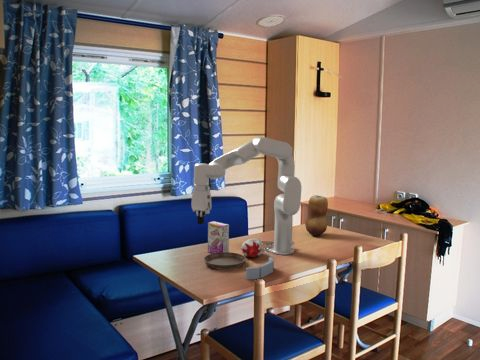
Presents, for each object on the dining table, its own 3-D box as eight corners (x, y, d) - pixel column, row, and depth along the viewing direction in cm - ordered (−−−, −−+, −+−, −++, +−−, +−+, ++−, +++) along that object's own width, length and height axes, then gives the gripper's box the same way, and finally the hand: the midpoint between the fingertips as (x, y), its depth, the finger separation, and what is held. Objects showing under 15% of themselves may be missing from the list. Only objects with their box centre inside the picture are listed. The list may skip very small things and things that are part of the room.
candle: (259, 250, 235) (265, 263, 220) (238, 251, 233) (243, 263, 218) (260, 235, 232) (266, 246, 218) (239, 235, 230) (244, 247, 216)
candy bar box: (207, 252, 232) (207, 222, 230) (213, 250, 236) (213, 220, 233) (222, 256, 225) (223, 226, 222) (229, 254, 229) (229, 224, 226)
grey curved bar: (269, 266, 211) (269, 256, 211) (278, 268, 208) (279, 258, 208) (244, 279, 194) (244, 268, 193) (254, 281, 191) (254, 270, 190)
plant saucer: (195, 262, 216) (195, 256, 215) (229, 255, 228) (229, 249, 228) (219, 274, 200) (219, 267, 199) (254, 266, 212) (254, 259, 212)
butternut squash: (326, 238, 263) (328, 198, 260) (303, 237, 266) (305, 197, 263) (326, 233, 276) (328, 194, 273) (305, 231, 279) (307, 193, 276)
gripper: (217, 188, 216) (216, 224, 219) (195, 185, 225) (194, 220, 228) (207, 190, 210) (207, 227, 213) (185, 187, 219) (184, 222, 221)
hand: (200, 223), depth 220 cm, fingers closed
